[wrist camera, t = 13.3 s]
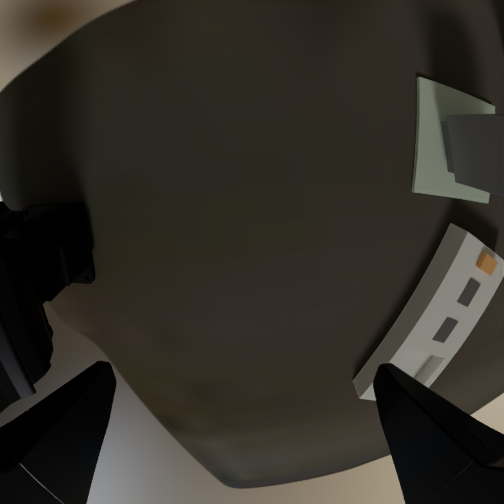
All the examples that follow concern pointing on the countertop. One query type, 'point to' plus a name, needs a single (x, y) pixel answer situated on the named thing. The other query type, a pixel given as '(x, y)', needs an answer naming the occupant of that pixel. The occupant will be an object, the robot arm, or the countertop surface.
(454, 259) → the power strip
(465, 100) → the mat
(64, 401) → the robot arm
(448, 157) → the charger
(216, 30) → the countertop surface
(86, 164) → the countertop surface
